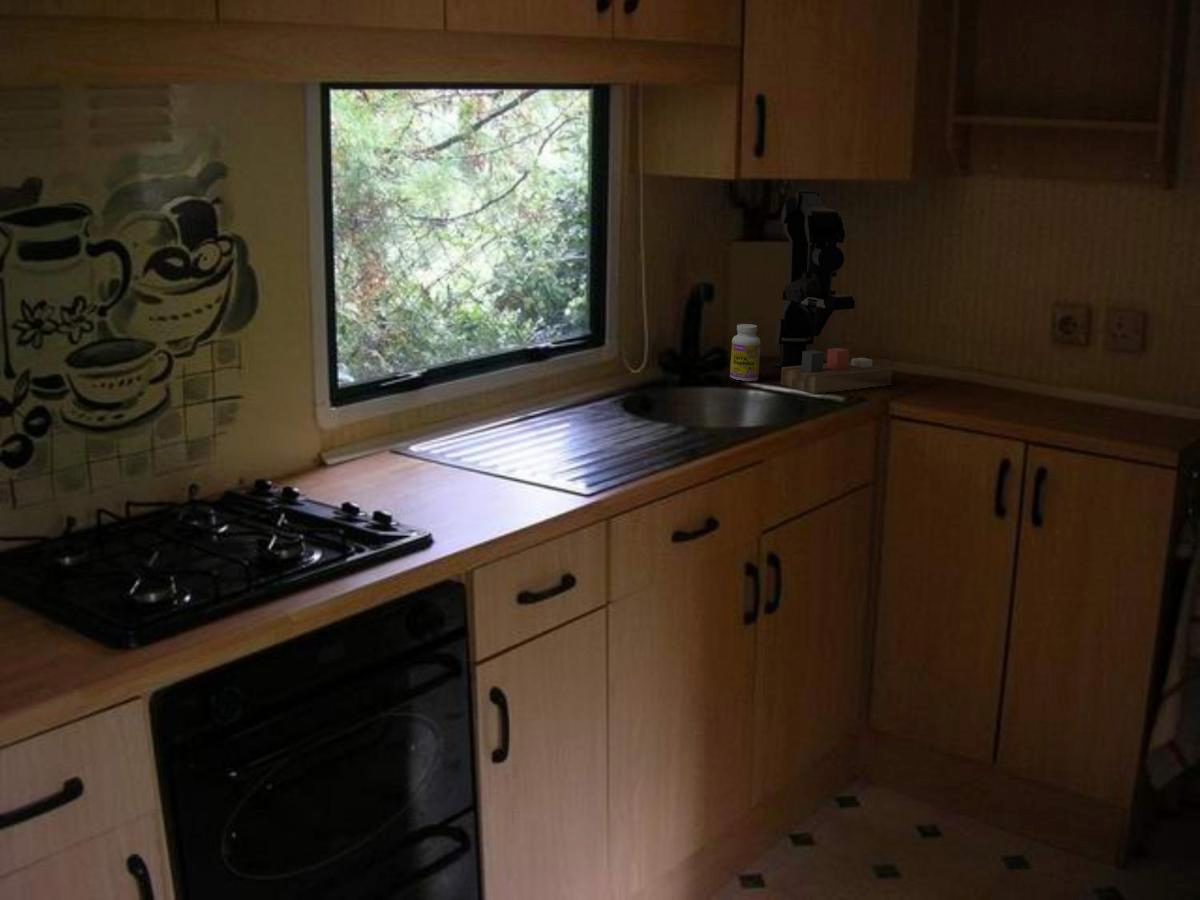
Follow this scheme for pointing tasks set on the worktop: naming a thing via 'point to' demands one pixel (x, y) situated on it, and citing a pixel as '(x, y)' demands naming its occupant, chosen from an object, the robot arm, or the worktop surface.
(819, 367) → the gray rectangular block
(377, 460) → the worktop surface
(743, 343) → the supplement bottle
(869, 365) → the plug white
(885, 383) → the block
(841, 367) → the plug red
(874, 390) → the worktop surface
